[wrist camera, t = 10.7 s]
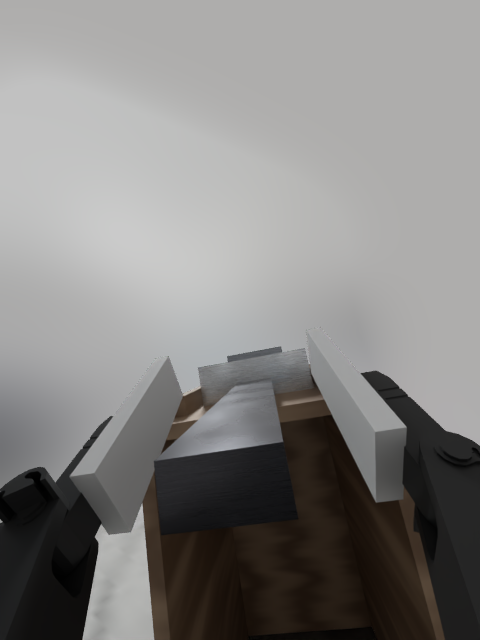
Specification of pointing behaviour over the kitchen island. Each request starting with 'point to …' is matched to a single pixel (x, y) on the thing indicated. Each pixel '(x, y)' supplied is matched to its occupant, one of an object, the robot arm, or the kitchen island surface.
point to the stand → (294, 549)
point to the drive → (233, 448)
